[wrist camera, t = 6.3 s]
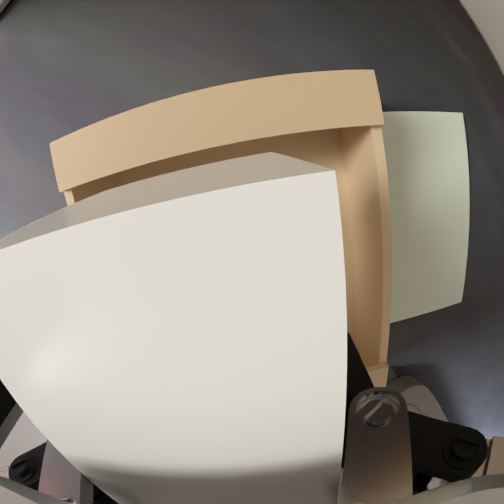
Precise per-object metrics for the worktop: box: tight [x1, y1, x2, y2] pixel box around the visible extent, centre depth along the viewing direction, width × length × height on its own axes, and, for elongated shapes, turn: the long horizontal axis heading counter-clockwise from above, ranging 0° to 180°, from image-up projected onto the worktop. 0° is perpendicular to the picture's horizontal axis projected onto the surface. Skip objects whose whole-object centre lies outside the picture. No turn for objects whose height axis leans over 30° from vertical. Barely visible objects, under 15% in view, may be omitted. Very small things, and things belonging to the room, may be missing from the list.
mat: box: [381, 111, 470, 323], centre depth 18 cm, size 15×9×1 cm, turn 10°
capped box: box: [0, 152, 347, 504], centre depth 7 cm, size 11×5×6 cm, turn 10°
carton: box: [50, 70, 392, 387], centre depth 16 cm, size 18×15×6 cm
